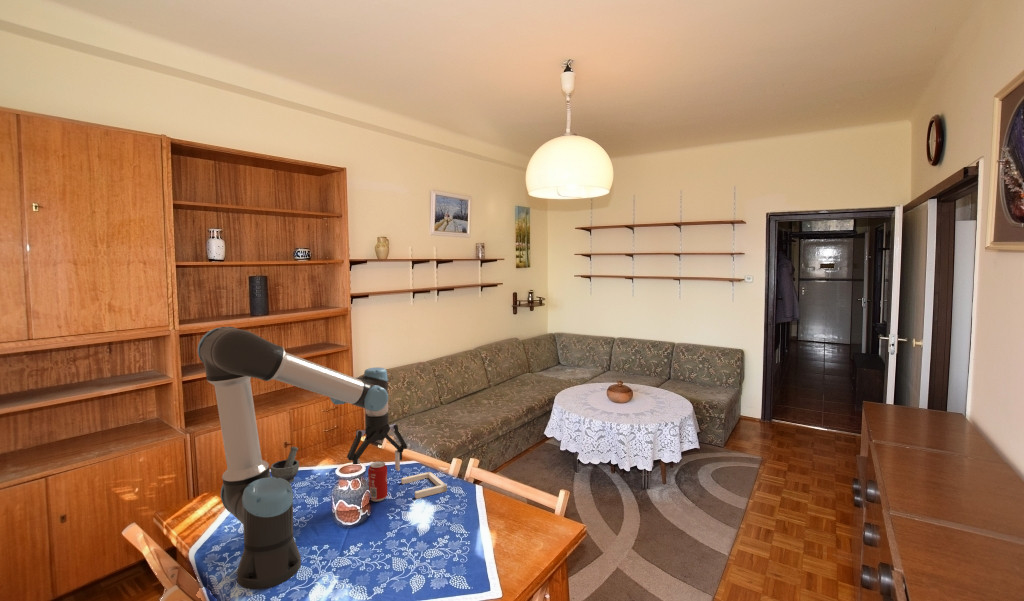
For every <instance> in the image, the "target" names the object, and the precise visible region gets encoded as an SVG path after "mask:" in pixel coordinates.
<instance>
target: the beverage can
mask: <svg viewBox="0 0 1024 601" xmlns="http://www.w3.org/2000/svg"><path fill="white" fill-rule="evenodd" d="M367 474H368V475H367V480H368V482H367V483H368V484H367V486H369V490H370V495H371V499H370V500H371V501H372V502H382V501H384V500H385V499H386V498H387V496H388V466H387V465H386V462H385V461H374V462H372V463H370V464H369V466H368V469H367Z"/></svg>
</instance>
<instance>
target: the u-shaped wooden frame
mask: <svg viewBox="0 0 1024 601" xmlns="http://www.w3.org/2000/svg"><path fill="white" fill-rule="evenodd" d="M425 478H426V479H429V480H430V481H431V482H432V483H433V484H434V485H435V486H432V487H429V488H428V487H427V488H424V489H420V490H415V491H414V497H415V499H416V500H417V499H422V498H425V497H429V496H432V495H433V496H434V495H436V494H441V493H444V492H448V485H447V484H446V483H445V482H444V481H442V480H441V479H440V478H438V476H436V475H435V474H434V473H432V471H428V472H427V471H426V472H423V473H419V474H415V475H409V476H405V477H402V478H401V480H400V481H401V484H402V485H406V484H409V482H410V483H414V482H417V480H418V481H421V480H422V481H423V480H424V479H425ZM413 481H414V482H413ZM405 483H406V484H405Z"/></svg>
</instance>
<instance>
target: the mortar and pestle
mask: <svg viewBox="0 0 1024 601" xmlns="http://www.w3.org/2000/svg"><path fill="white" fill-rule="evenodd" d="M298 450H299V448H298V447H296V446H291V447H290V451H289V453H288V456H287V458H286V459H283V460H278V461H276V462H274V463H272V464H270V466H269V469H270V476H271V477H275V478H282V479H285V480H287V481H288V482H289V483H290V484H292V483H293V482H294V481H295V477H296V476H297V474H298V472H299V468H300V460H297V459H296V456H297V453H298Z"/></svg>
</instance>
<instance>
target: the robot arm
mask: <svg viewBox="0 0 1024 601" xmlns="http://www.w3.org/2000/svg"><path fill="white" fill-rule="evenodd" d="M197 355H198V357H199V360H200V361H201V362H202V363H203V366H204V371H205V376H206V378H205V379H206V382H208V383H209V384H211V385H213V386H214V391H215V398H216V405H217V412H218V417H219V422H220V423H219V424H220V428H221V436H222V443H223V447H224V448H223V449H224V455H225V456H224V457H225V462H226V467H227V469H226V470H225V471H223V474H222V476H221V479H222V485H221V489H220V499H221V502H222V506H223V507H224V508H225V509H226V510H227V512H229V513H230V514H232V515H233V516H234V517H235V519H237V520H238V521H239V522H240V523H241V524H242V525H243V547H244V548H243V552H242V555H241V557H240V561H239V564H238V567H237V570H236V579H237V580H236V581H237V584H238V585H239V586H240V587H241V588H243V589H246V590H257V591H258V590H264V589H269V588H270V589H271V588H273V587H276V586H279V585H282V584H283V583H285V582H287V581H289V579H291V578H293V577H294V576H295V575H297V573H298V571H299V570H300V568H301V565H302V557H301V553H300V551H299V548H298V546H297V543H296V541H295V538H294V493H293V487H292V483H289V482H288V481H287V480H285V479H282V478H275V477H273V476H271V469H270V464H269V462H267V461H266V460H264V459H263V458H262V457H263V456H262V452H261V444H260V437H259V431H258V430H259V429H258V425H257V418H256V417H257V416H256V410H255V403H254V397H253V391H252V389H253V388H252V383H251V378H254V379H258V380H261V381H264V382H269V381H272V380H275V381H279V382H280V383H284V384H287V385H290V386H293V387H297V388H300V389H303V390H306V391H309V392H312V393H316V394H319V395H322V396H325V397H328V398H329V399H330V401H331V403H333V404H334V405H335V406H336V405H344V404H351V405H352V406H356V407H359V408H362V409H365V414H366V415H365V429H359V428H358V429H357V430H356V432H355V437H354V440H353V441H352V444H351V447H350V449H349V451H348V453H347V455H346V458H347V459H348V461H352V465H353V464H360V465H361V460H360V457H361V456H362V455H363V453H364V452H366V451H365V450H366V449H367V448H368V446H369V445H370V444H371V443H372V442H374V443H375V442H377V441H383V440H384V439H386V440H387V441H388V442H389V443H390V444H391V445H392V446H393V447H394V448H395V449H396V450H394V464H395V465H394V468H395V469H394V470H396V471H397V472H400V471H401V465H400V464H401V461H402V460H403V452H404V450H407V449H408V445H407V443H406V442H405V439H404V438H403V436H402V435H401V432H400V431H399V427H398V424H396V423H395V422H393V423H392V424H390V425H389V413H388V412H389V391H388V390H389V388H388V383H389V379H388V371H387V369H386V368H384V367H369V368H366V369H365V370H364V373H363V375H362V376H359V377H354V376H352V375H349V374H345V373H342V372H340V371H337V370H335V369H332V368H329V367H326V366H324V365H321V364H319V363H315V362H313V361H311V360H307V359H305V358H303V357H299V356H297V355H294V354H292V353H289V352H286V350H285V348H284V347H283V346H282V345H281V346H280V345H278V344H275V343H274V342H272V341H269V340H268V339H265V338H263V337H261V336H259V335H258V334H256V333H253V331H249V330H246V329H240V328H236V327H234V326H219V327H215V328H213V329H211V330H208V331H207V332H206V333H205V334H204V335H203V336H202V337H201V338H200V340H199V342H198V345H197ZM390 430H391V431H392V432H393V433H394V435H395V437H396V439H397V440H398V443H400V445H399V444H398V443H396V441H395V440H393V439H392V437H391V436H389V434H388V433H389V431H390ZM364 435H366V436H365V438H364V440H363V441H362V443H361V440H362V438H363V437H364ZM360 443H361V445H360V446H359V444H360Z"/></svg>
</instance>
